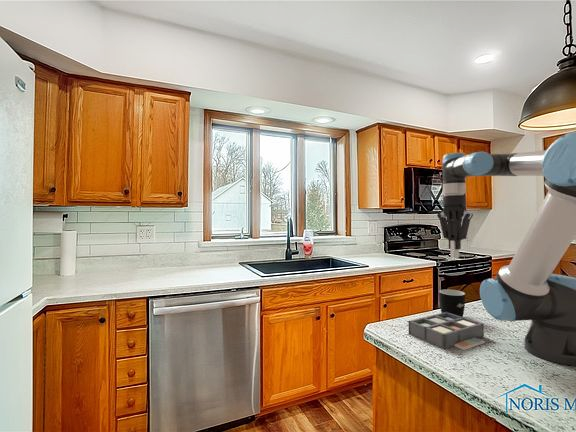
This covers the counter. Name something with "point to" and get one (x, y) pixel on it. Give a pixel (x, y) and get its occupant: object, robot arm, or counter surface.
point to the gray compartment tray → (457, 338)
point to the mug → (452, 302)
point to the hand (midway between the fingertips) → (454, 257)
